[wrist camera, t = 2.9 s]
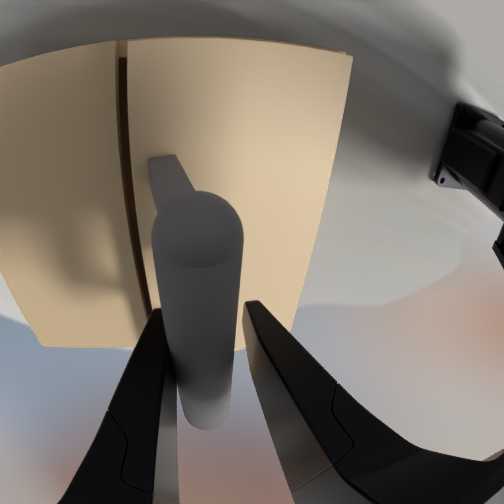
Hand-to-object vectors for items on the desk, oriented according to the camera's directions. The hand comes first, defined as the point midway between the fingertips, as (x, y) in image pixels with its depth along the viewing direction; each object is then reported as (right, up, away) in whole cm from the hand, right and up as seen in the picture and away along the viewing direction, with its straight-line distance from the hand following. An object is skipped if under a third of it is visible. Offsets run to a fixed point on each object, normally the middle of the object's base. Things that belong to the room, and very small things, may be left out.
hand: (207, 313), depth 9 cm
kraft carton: (-4, +6, +7) cm, 10 cm away
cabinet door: (+1, +2, +3) cm, 4 cm away
